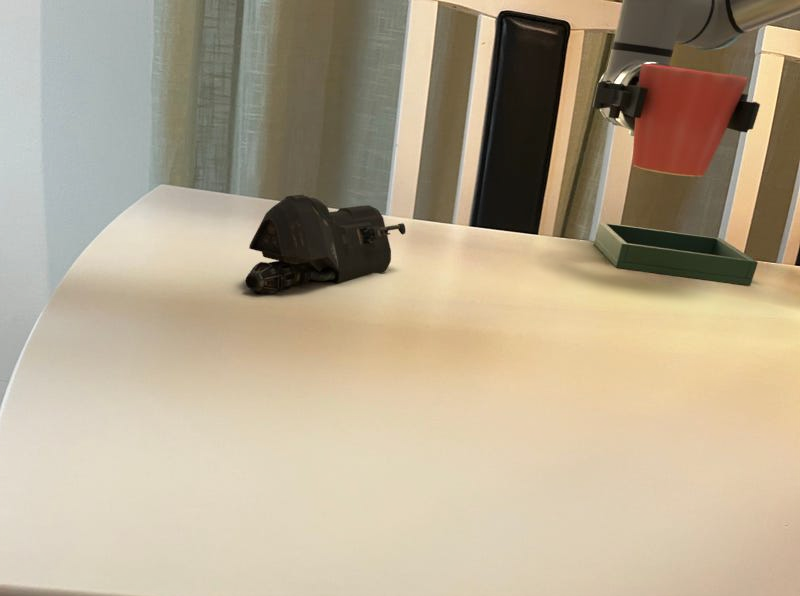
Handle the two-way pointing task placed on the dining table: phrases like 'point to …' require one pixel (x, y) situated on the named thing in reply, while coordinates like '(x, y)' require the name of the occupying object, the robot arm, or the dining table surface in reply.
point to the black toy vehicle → (318, 244)
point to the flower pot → (683, 118)
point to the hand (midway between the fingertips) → (694, 110)
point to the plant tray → (674, 254)
